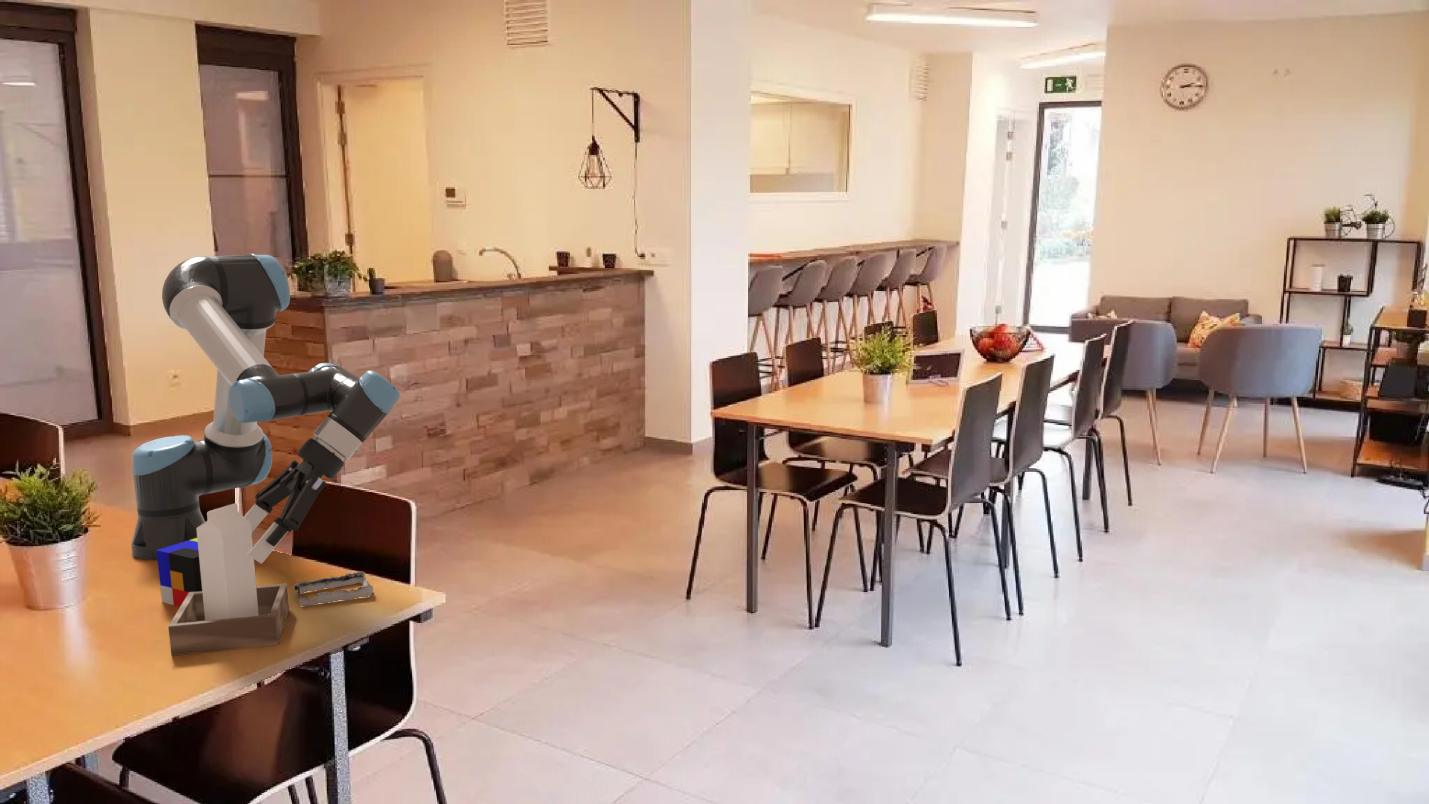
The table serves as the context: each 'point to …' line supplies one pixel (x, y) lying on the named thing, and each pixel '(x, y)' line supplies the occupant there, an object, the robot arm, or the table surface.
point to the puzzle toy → (179, 571)
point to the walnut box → (229, 624)
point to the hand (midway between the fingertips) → (244, 548)
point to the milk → (227, 565)
